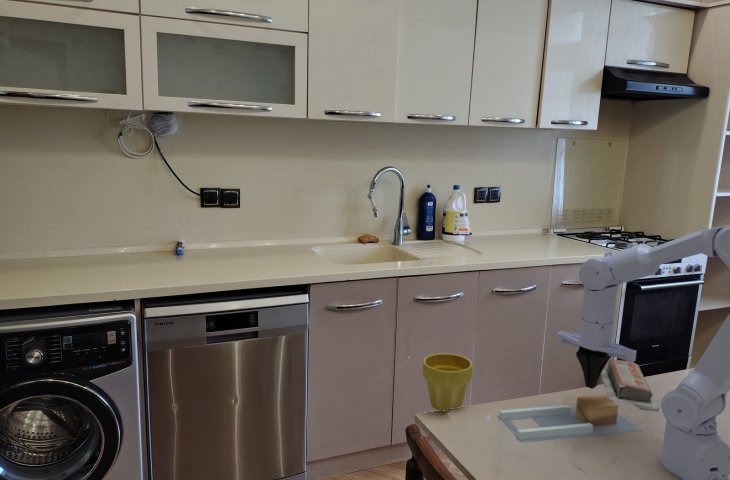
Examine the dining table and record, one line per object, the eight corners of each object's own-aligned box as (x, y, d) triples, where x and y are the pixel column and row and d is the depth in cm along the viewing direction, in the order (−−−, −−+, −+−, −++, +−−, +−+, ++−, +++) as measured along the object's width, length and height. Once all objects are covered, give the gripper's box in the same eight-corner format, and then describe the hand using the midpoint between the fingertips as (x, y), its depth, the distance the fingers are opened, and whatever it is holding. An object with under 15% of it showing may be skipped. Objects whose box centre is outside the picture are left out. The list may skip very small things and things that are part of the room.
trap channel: (640, 435, 104) (642, 423, 103) (521, 447, 98) (522, 434, 98) (607, 410, 113) (608, 399, 113) (497, 420, 108) (498, 408, 108)
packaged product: (600, 355, 132) (644, 361, 129) (598, 374, 133) (642, 379, 130) (609, 385, 115) (661, 392, 112) (607, 406, 116) (659, 414, 113)
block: (616, 424, 106) (618, 405, 105) (588, 426, 104) (590, 407, 104) (601, 413, 110) (603, 394, 109) (575, 415, 109) (577, 396, 108)
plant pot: (413, 397, 118) (415, 354, 116) (456, 391, 121) (458, 350, 119) (433, 420, 108) (435, 374, 106) (479, 413, 111) (482, 368, 109)
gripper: (645, 324, 101) (637, 392, 103) (570, 307, 111) (565, 369, 113) (630, 332, 96) (623, 404, 98) (554, 313, 106) (548, 378, 108)
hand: (591, 386), depth 105 cm, fingers closed
